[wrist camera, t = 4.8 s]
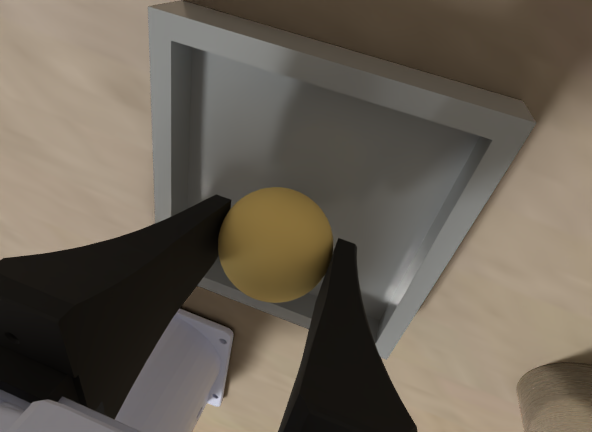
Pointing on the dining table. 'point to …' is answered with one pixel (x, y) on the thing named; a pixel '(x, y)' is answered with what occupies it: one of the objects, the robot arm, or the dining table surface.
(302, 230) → the ball
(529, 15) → the dining table surface
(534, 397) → the shaker cup
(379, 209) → the dish
